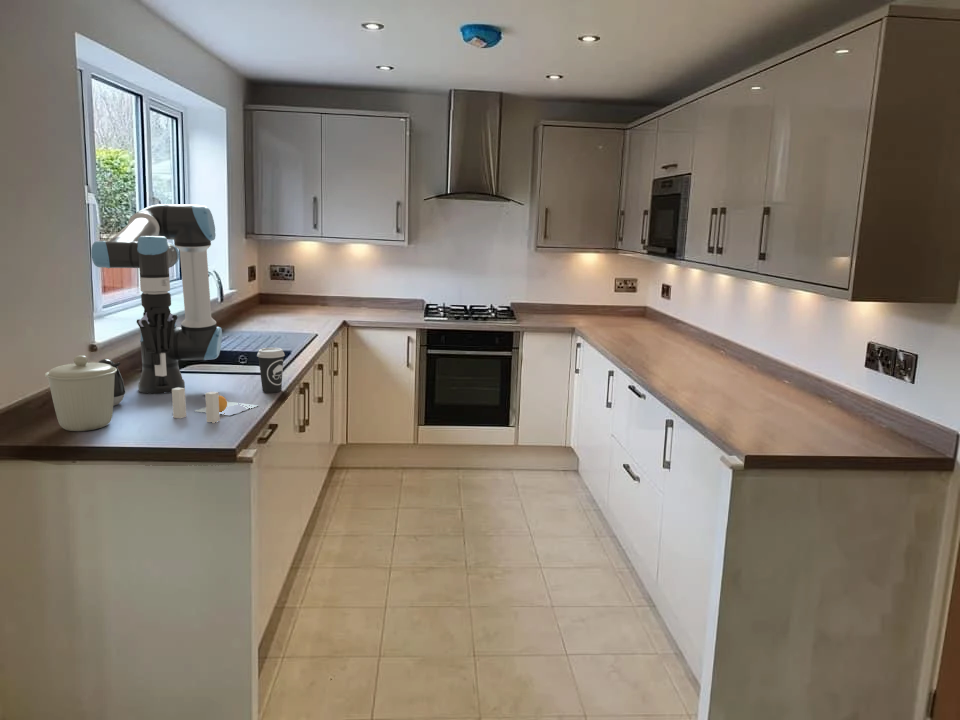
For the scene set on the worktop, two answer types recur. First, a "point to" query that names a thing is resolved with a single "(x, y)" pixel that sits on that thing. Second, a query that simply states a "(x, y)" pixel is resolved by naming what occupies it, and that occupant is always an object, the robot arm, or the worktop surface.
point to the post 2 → (212, 407)
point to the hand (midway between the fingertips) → (161, 375)
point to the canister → (82, 394)
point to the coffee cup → (271, 369)
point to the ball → (222, 403)
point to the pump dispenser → (116, 382)
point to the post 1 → (179, 402)
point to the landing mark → (228, 406)
